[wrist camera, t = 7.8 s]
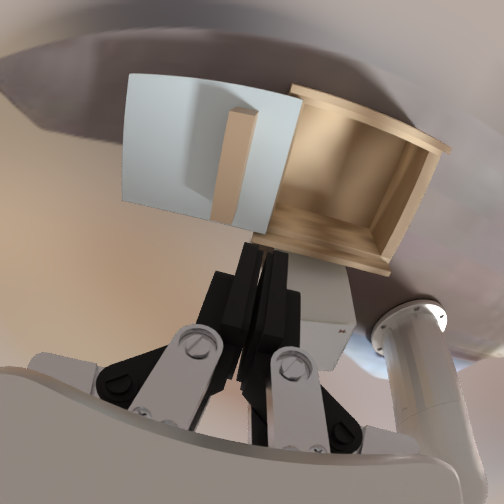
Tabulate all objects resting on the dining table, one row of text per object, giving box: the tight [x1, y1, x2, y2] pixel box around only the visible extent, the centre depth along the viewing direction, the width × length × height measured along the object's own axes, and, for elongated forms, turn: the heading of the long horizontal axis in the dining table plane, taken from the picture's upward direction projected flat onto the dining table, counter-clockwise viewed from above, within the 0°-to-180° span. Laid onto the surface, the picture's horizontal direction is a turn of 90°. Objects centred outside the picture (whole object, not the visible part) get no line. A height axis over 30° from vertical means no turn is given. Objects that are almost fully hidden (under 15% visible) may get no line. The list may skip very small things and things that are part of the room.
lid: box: [122, 73, 303, 234], centre depth 20 cm, size 13×11×3 cm
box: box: [251, 83, 452, 277], centre depth 23 cm, size 13×13×7 cm
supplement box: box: [274, 248, 357, 371], centre depth 28 cm, size 7×7×13 cm
